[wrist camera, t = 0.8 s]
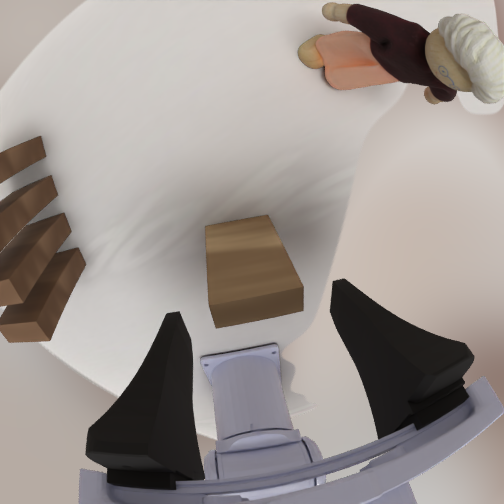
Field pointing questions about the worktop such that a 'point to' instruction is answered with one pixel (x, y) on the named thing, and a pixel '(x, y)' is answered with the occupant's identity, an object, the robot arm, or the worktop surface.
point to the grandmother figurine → (408, 54)
